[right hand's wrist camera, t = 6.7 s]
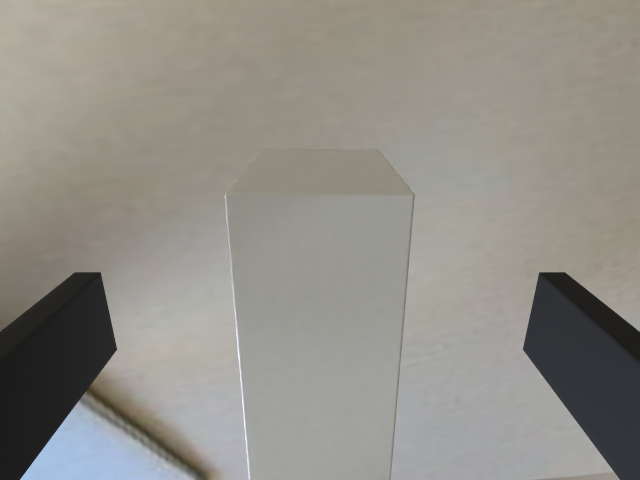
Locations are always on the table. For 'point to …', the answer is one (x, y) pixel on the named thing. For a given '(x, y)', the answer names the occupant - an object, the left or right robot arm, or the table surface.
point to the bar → (319, 310)
